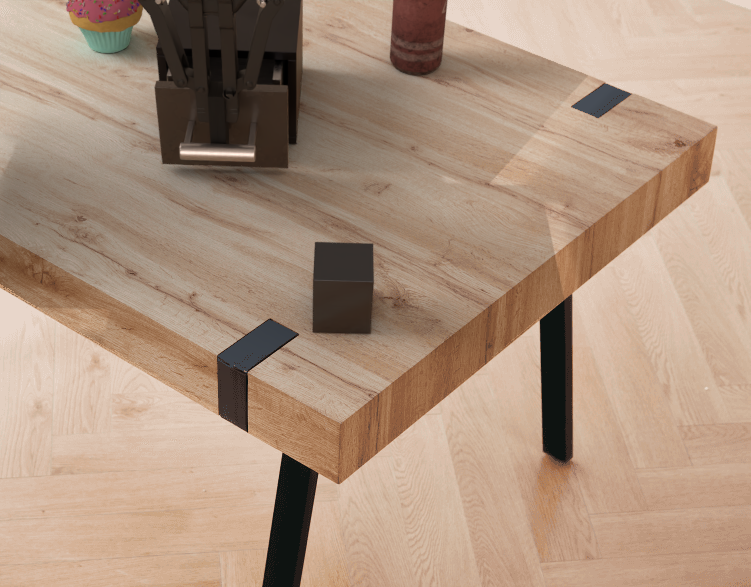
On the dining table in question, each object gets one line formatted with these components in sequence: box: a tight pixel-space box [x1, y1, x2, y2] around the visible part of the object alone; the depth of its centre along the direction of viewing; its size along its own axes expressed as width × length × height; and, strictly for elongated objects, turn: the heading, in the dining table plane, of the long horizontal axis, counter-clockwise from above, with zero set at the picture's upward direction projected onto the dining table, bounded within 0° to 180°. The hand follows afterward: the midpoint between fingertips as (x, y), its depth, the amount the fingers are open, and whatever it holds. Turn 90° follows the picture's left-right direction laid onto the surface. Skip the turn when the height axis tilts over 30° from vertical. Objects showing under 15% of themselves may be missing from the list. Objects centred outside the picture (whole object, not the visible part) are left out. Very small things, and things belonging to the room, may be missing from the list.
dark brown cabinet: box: [155, 0, 304, 145], centre depth 115 cm, size 16×14×11 cm
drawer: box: [154, 56, 290, 169], centre depth 108 cm, size 20×13×9 cm, turn 1°
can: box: [389, 0, 449, 76], centre depth 122 cm, size 6×6×14 cm
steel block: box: [311, 241, 375, 335], centre depth 92 cm, size 5×5×6 cm
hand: (220, 147), depth 104 cm, fingers closed
